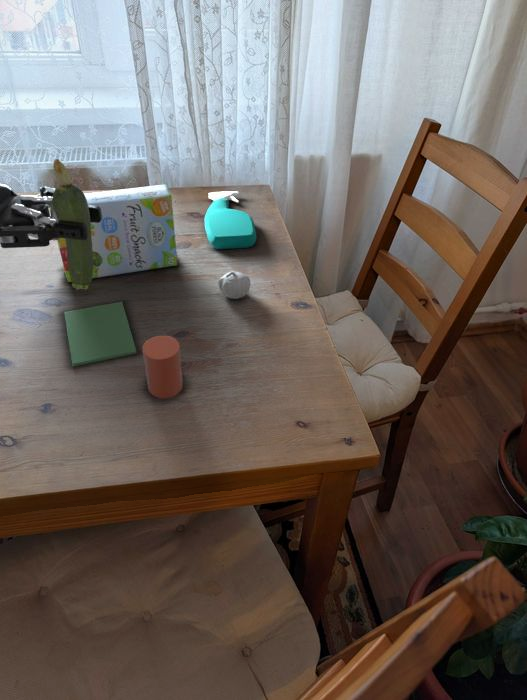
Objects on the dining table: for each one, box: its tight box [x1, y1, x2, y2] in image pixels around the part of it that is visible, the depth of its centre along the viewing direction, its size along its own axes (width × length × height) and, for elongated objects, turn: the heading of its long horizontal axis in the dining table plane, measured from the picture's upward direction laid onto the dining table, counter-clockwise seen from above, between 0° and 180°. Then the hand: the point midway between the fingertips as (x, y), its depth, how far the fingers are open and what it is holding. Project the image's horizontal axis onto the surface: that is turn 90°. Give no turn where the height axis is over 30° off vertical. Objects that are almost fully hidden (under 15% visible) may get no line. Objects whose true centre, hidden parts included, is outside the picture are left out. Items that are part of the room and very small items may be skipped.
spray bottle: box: [204, 190, 257, 250], centre depth 118 cm, size 3×11×24 cm
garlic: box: [217, 270, 252, 300], centre depth 96 cm, size 6×5×5 cm
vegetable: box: [52, 158, 93, 291], centre depth 71 cm, size 4×4×20 cm
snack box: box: [49, 184, 178, 283], centre depth 98 cm, size 21×6×15 cm, turn 110°
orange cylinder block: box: [141, 334, 184, 399], centre depth 77 cm, size 5×5×8 cm
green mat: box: [63, 301, 138, 367], centre depth 88 cm, size 14×10×1 cm
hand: (93, 223), depth 71 cm, fingers closed on vegetable, 4 cm apart
